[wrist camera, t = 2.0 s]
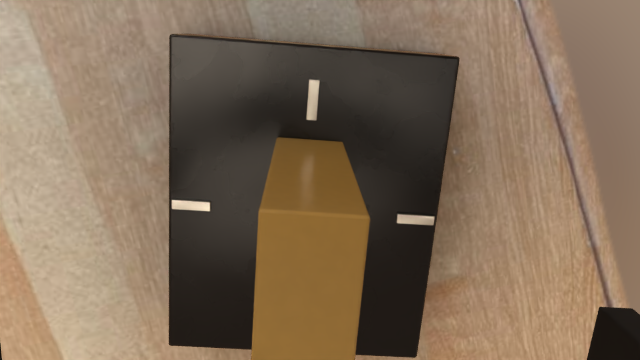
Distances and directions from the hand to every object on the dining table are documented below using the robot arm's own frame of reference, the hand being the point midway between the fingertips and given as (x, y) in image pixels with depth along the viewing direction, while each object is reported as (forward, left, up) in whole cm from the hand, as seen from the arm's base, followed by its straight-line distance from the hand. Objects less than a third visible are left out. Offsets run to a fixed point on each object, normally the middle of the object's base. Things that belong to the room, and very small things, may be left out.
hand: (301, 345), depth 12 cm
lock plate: (0, 0, -11) cm, 11 cm away
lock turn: (0, 0, -8) cm, 8 cm away
